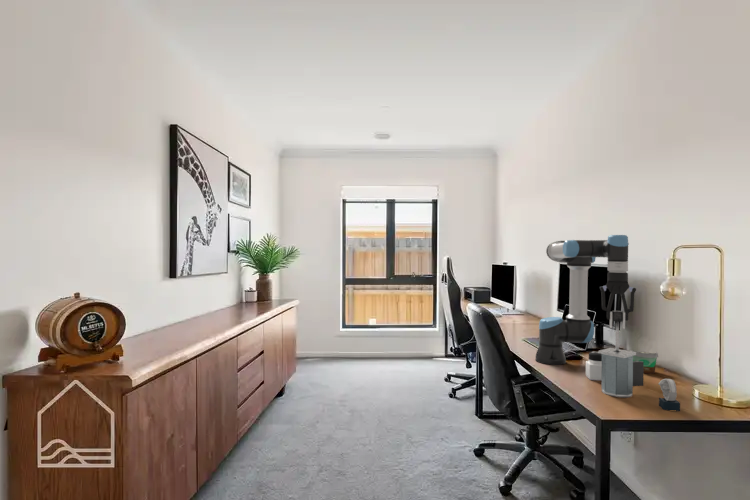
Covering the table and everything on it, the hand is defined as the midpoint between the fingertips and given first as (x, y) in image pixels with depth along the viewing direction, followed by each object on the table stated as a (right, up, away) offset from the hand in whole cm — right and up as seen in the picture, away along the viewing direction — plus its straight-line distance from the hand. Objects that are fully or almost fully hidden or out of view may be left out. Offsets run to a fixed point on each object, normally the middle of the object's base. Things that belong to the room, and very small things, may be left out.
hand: (617, 327), depth 182 cm
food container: (+31, -28, +32) cm, 52 cm away
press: (+2, -27, +1) cm, 27 cm away
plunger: (0, -16, 0) cm, 16 cm away
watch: (+10, -28, -17) cm, 34 cm away
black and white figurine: (+2, -28, +21) cm, 35 cm away
